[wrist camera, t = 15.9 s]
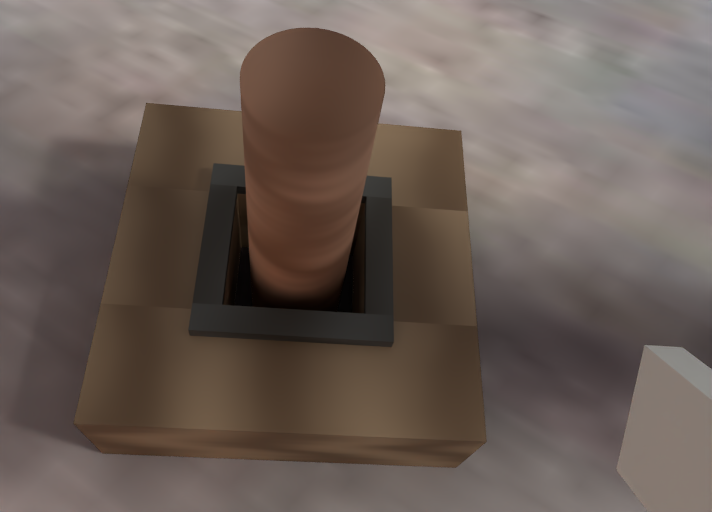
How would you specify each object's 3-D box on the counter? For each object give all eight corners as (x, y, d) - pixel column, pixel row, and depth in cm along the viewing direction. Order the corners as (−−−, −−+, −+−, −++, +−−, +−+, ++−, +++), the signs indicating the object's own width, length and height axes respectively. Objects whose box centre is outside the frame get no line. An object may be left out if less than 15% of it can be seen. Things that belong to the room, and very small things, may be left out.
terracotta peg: (339, 268, 35) (384, 35, 21) (336, 345, 33) (386, 142, 19) (256, 262, 35) (247, 21, 21) (248, 340, 32) (232, 129, 19)
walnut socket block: (439, 186, 38) (464, 123, 34) (455, 467, 31) (490, 438, 26) (160, 164, 37) (144, 94, 32) (102, 453, 29) (69, 419, 24)
